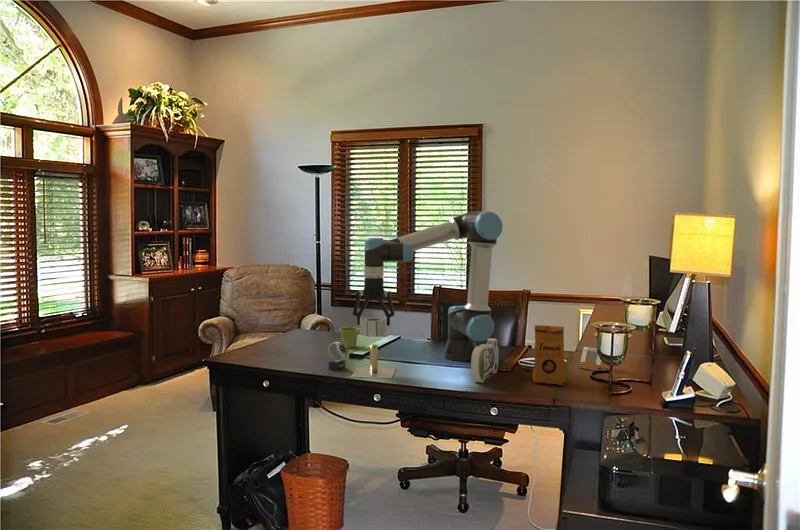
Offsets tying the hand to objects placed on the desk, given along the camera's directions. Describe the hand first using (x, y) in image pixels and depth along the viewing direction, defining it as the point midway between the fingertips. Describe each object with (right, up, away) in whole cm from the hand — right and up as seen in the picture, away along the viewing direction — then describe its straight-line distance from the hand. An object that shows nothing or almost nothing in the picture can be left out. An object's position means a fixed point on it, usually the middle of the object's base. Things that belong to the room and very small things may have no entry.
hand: (373, 333), depth 249 cm
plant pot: (-13, -12, +49) cm, 52 cm away
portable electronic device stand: (+90, -16, +10) cm, 92 cm away
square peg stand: (0, -16, +2) cm, 16 cm away
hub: (0, 0, 0) cm, 0 cm away
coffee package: (+67, -18, -11) cm, 70 cm away
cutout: (+44, -17, -4) cm, 47 cm away
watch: (-15, -16, +8) cm, 23 cm away
